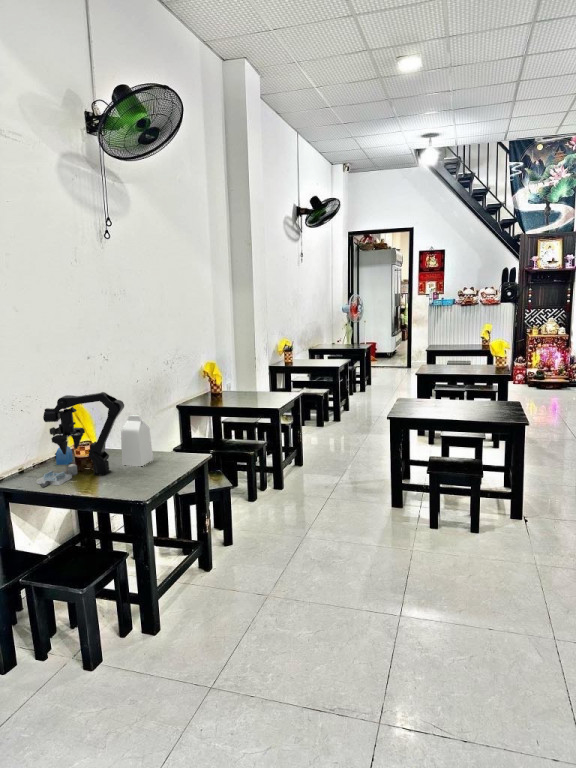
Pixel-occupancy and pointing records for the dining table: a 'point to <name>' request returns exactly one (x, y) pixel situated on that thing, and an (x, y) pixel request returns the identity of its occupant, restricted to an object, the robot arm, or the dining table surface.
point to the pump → (72, 469)
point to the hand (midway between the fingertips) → (70, 451)
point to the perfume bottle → (64, 457)
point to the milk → (136, 442)
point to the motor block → (53, 478)
